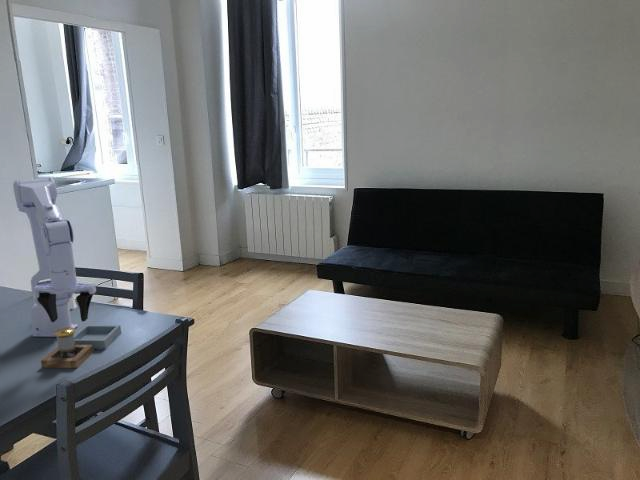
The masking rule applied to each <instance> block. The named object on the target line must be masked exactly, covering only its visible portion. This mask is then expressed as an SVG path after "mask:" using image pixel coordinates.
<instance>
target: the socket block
mask: <svg viewBox="0 0 640 480" xmlns="http://www.w3.org/2000/svg"><path fill="white" fill-rule="evenodd" d="M76 352H77V355H76V356H75V357H74V358H60V357H59V350H58V346H56V347H55V348H54V349H53V350H52V351H51V352H49V353H48V354H47V355H46V356H45V357H43V358H42V359H41V360H40V364H41V368H43V369H78V368H80V366H81V365H82V364H83V363H85V361H86V360H87V359H89V358H90V356H91V355H92V354H93V353H94V352H95V349H94V348H93V345H76Z"/></svg>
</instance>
